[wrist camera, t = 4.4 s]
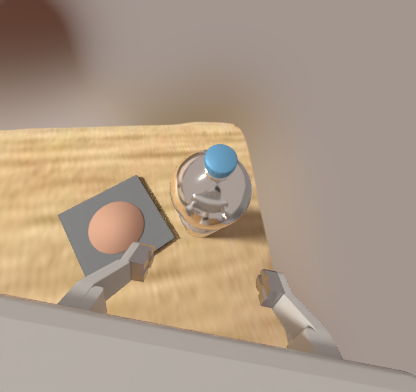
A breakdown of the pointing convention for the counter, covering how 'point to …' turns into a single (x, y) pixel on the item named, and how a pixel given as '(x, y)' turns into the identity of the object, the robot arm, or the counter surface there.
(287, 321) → the robot arm
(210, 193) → the water bottle
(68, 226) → the spot mat
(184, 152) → the counter surface
